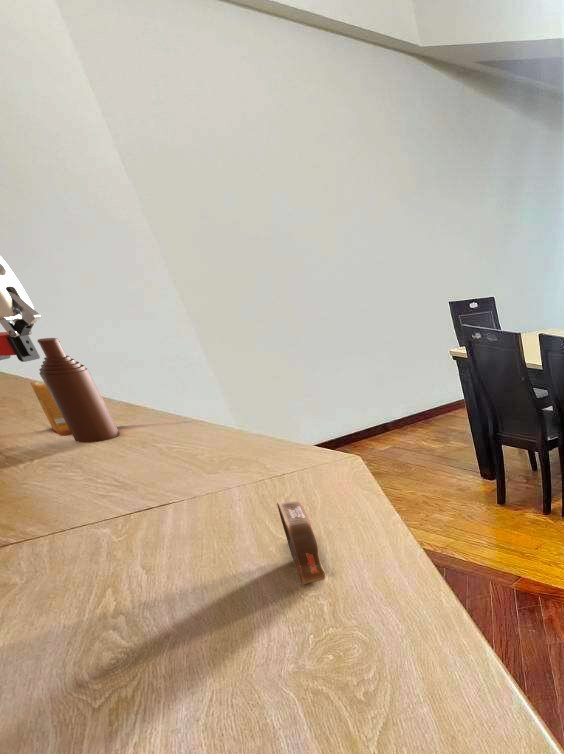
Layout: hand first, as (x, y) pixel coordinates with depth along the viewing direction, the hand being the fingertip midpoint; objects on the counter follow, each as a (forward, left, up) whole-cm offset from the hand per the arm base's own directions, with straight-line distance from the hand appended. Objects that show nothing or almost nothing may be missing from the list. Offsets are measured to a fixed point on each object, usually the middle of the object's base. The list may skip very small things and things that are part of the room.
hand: (15, 358), depth 101 cm
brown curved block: (+44, -63, -17) cm, 79 cm away
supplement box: (-4, +14, -17) cm, 23 cm away
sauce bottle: (+2, +9, -17) cm, 19 cm away
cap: (0, 0, +1) cm, 1 cm away
